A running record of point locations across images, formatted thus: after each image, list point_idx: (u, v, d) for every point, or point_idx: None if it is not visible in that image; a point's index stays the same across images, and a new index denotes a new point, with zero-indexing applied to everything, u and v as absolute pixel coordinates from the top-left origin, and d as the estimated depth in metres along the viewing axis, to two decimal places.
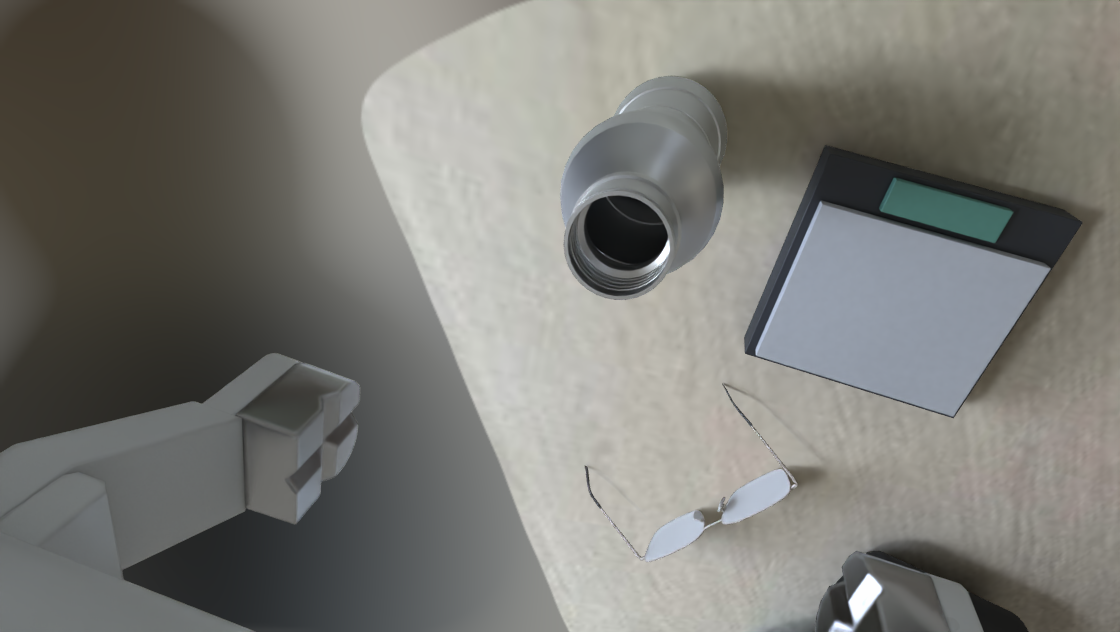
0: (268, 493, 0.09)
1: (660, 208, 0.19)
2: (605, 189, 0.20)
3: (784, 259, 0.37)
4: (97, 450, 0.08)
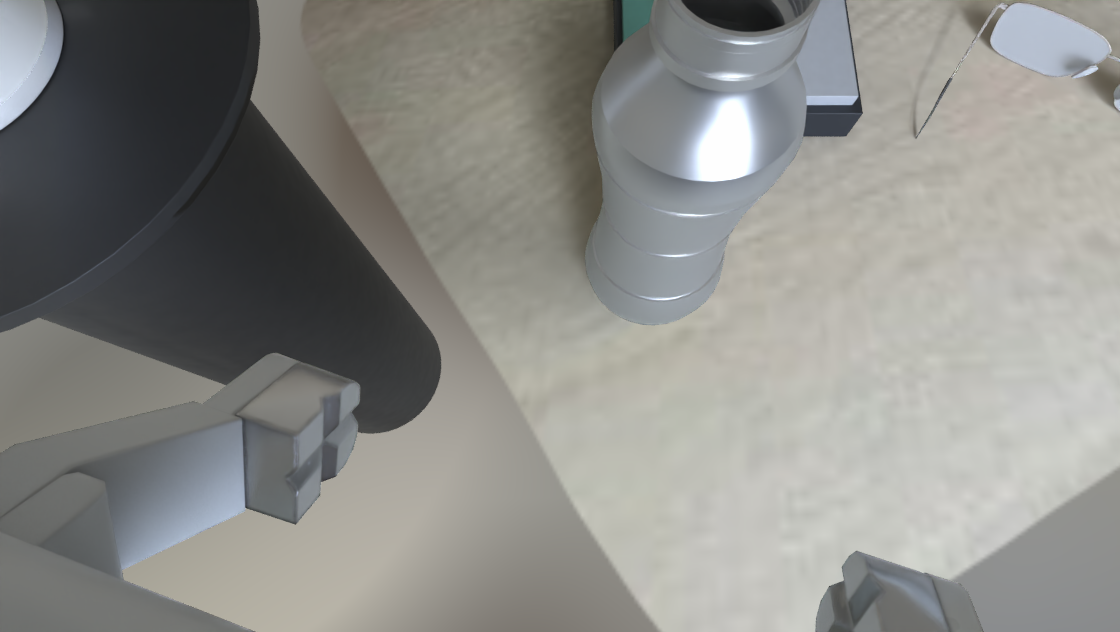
0: (268, 493, 0.09)
1: None
2: (674, 13, 0.15)
3: None
4: (97, 450, 0.08)
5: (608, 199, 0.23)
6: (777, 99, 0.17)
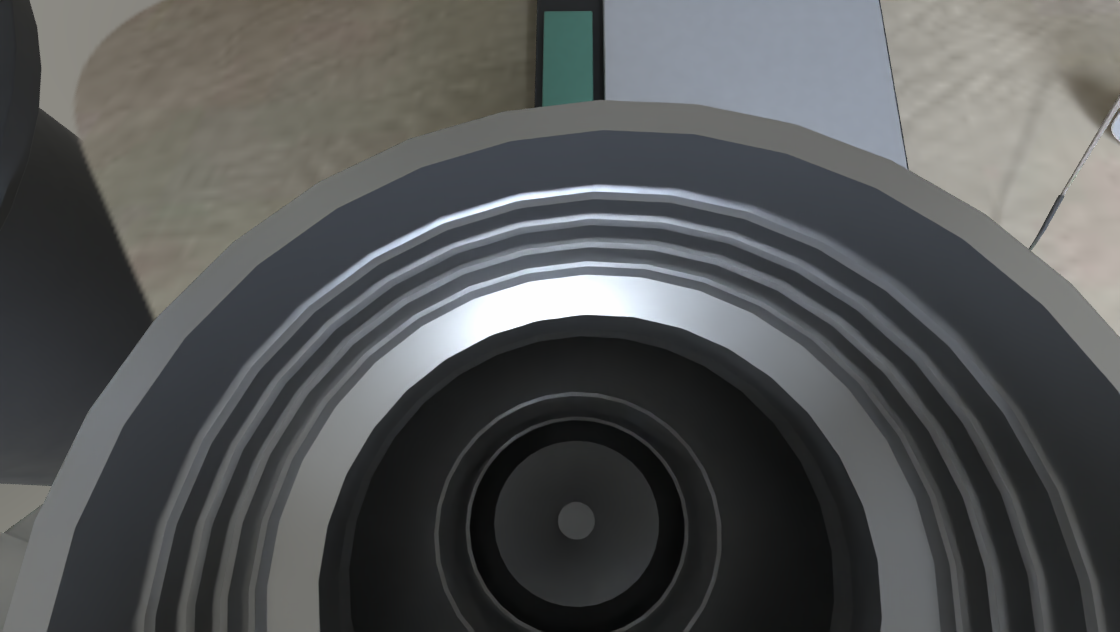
0: None
1: None
2: None
3: None
4: None
5: None
6: None
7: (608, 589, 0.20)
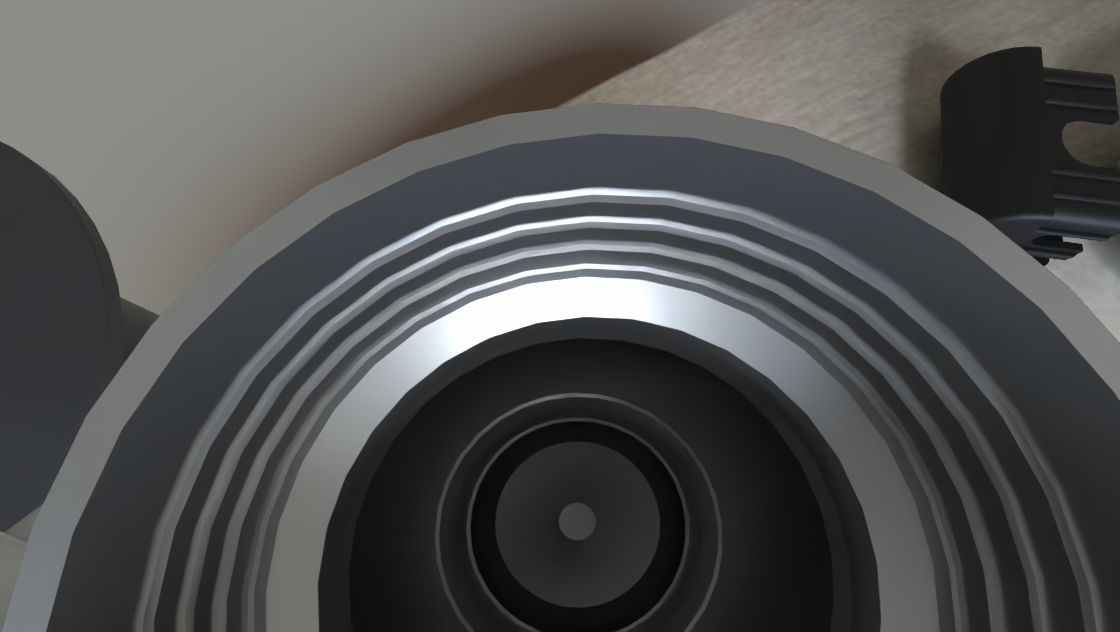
0: None
1: None
2: None
3: None
4: None
5: None
6: None
7: (609, 590, 0.20)
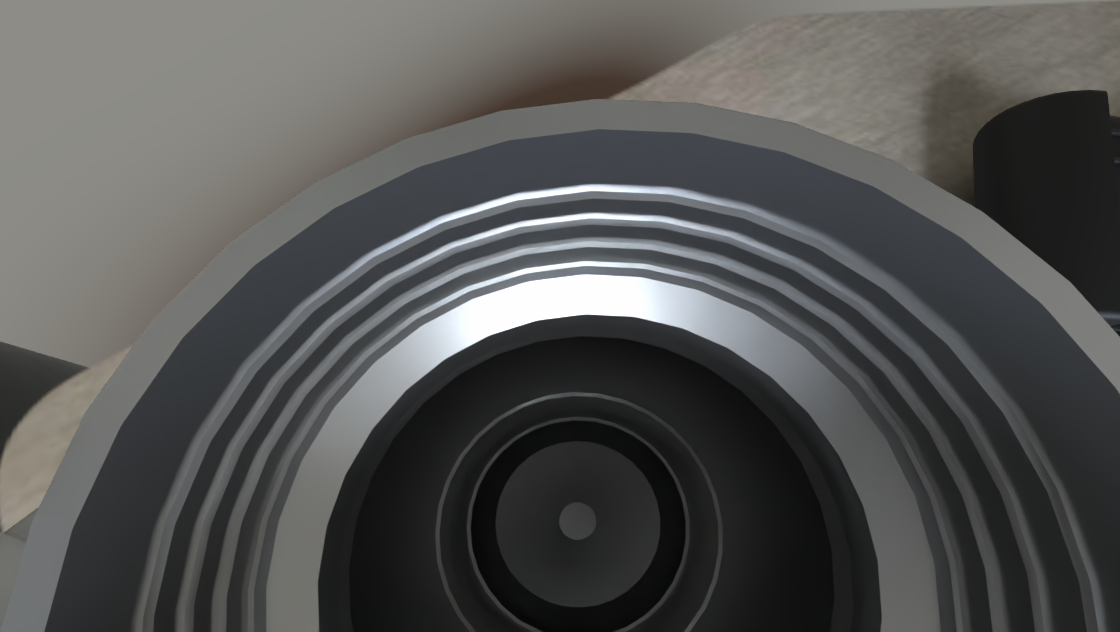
0: None
1: None
2: None
3: None
4: None
5: None
6: None
7: (609, 589, 0.20)
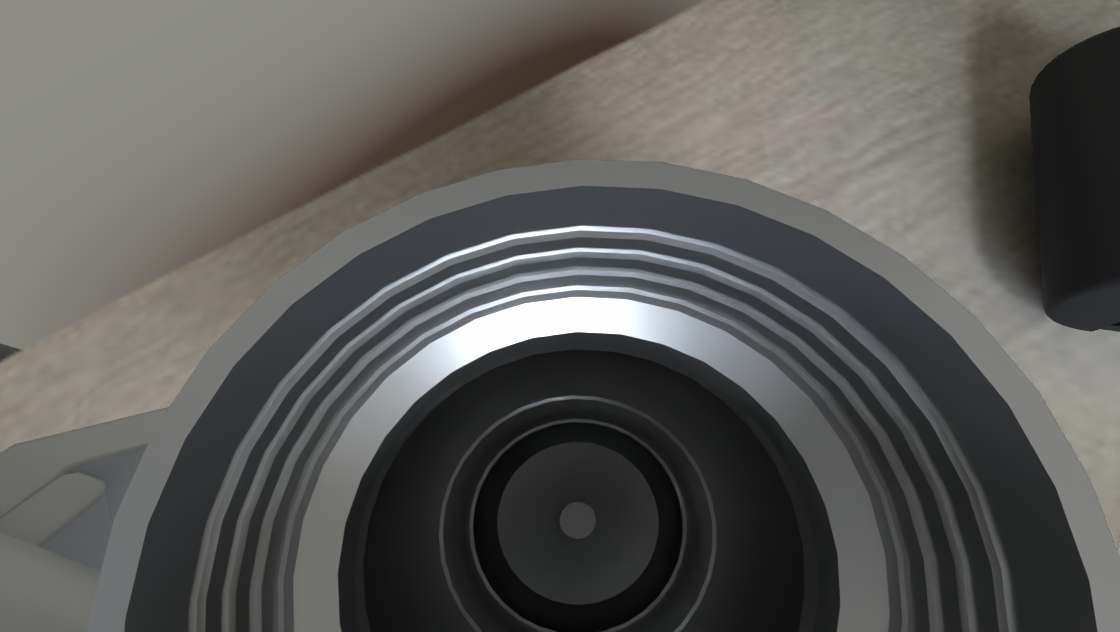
0: None
1: None
2: None
3: None
4: (97, 450, 0.08)
5: None
6: None
7: (609, 587, 0.20)
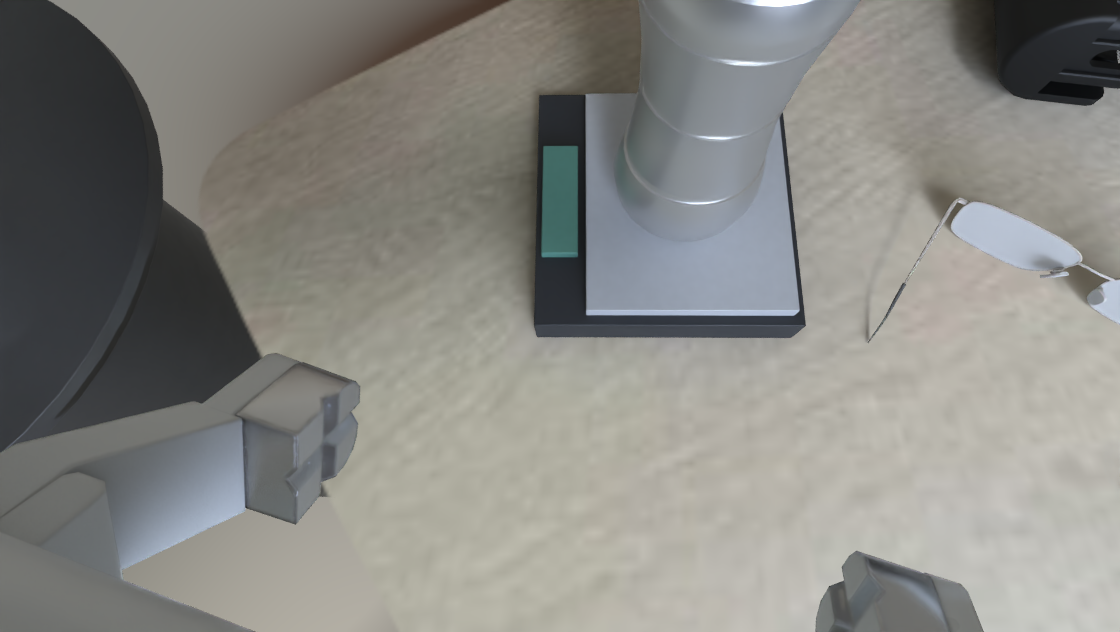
0: (268, 493, 0.09)
1: None
2: None
3: (666, 326, 0.31)
4: (97, 450, 0.08)
5: (649, 69, 0.21)
6: None
7: None
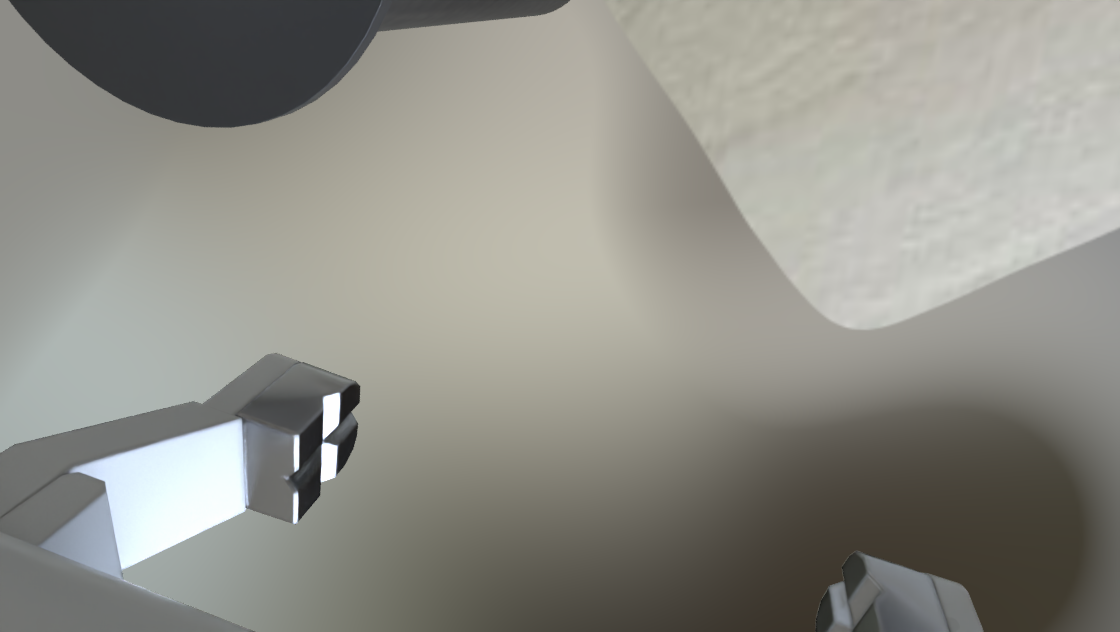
0: (268, 493, 0.09)
1: None
2: None
3: None
4: (97, 450, 0.08)
5: None
6: None
7: None
